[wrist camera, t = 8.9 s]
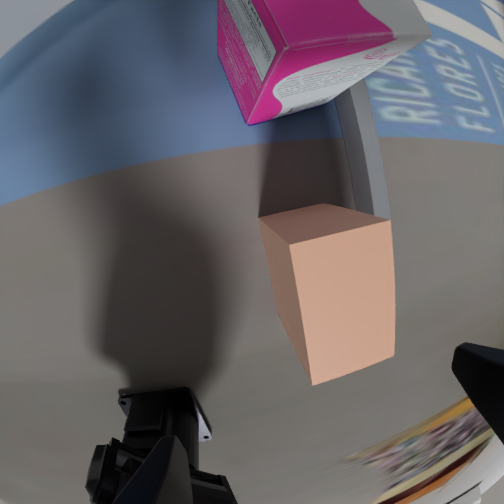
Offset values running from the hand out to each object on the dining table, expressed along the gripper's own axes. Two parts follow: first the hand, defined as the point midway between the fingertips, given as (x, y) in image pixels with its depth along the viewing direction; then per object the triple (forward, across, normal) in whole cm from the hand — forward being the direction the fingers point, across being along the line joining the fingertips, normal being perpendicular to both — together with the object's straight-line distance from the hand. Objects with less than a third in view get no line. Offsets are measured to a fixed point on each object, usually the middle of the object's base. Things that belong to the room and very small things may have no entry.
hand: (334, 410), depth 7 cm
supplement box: (+13, -3, -13) cm, 18 cm away
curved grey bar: (+13, -8, -6) cm, 16 cm away
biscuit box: (+13, -3, 0) cm, 13 cm away
